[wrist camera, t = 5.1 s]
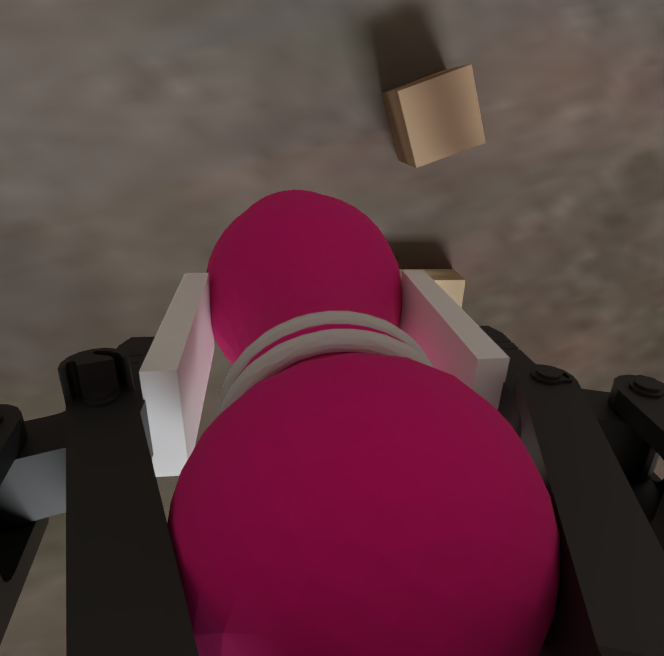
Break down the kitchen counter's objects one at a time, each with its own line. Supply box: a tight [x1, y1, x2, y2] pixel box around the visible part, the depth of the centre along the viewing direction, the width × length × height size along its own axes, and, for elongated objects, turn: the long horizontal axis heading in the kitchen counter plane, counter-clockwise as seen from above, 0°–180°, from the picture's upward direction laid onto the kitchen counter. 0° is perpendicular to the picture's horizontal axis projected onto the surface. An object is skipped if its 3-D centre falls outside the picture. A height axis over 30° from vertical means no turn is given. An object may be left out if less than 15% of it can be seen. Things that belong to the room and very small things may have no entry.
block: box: [382, 64, 485, 168], centre depth 35 cm, size 5×5×5 cm
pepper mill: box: [167, 190, 560, 656], centre depth 13 cm, size 7×7×20 cm
